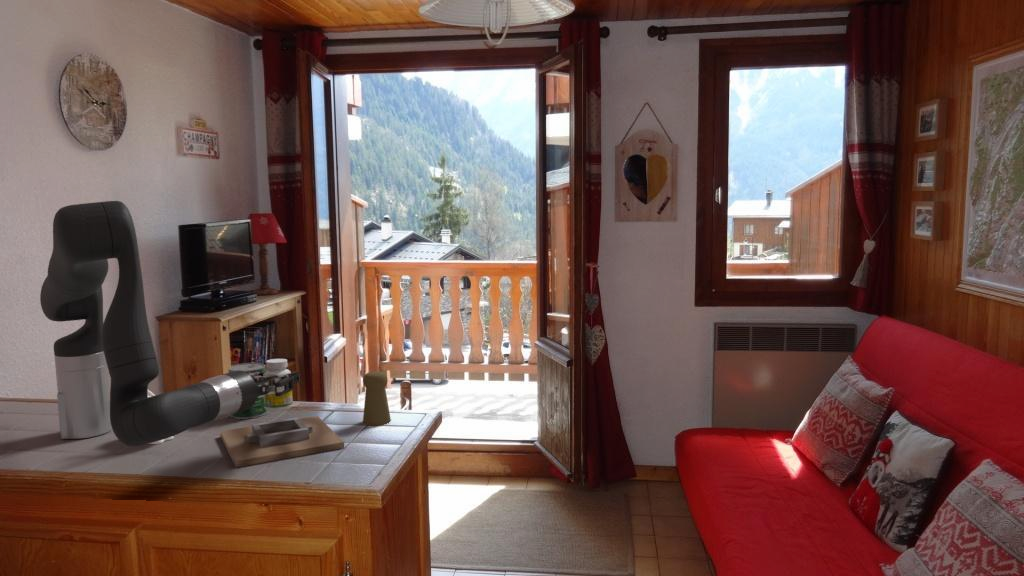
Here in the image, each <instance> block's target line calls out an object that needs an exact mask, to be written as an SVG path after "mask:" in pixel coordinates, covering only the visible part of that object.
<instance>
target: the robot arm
mask: <svg viewBox="0 0 1024 576" xmlns="http://www.w3.org/2000/svg"><path fill="white" fill-rule="evenodd" d="M134 224H135V223H134V220H133V217H132V214H131V212H130V210H129V208H128V207H127V205H126V204H125V203H124V202H122V201H120V200H105V201H97V202H89V203H88V202H86V203H78V204H69V205H65V206H63V207H60V208H59V209H58V210H57V211H56V213H55V214H54V216H53V221H52V242H53V245H52V253H51V255H50V258H49V263H48V267H47V276H46V277H45V279H44V281H43V282H42V285H41V289H40V293H39V295H40V297H39V299H40V300H39V302H40V306H41V310H42V312H43V314H44V316H45V317H46V318H47V319H48V320H50V321H52V322H60V323H61V322H70V321H81V320H82V321H83V320H85V321H84V324H83V325H82V326H80V327H79V328H78V329H77V330H75V331H73V332H72V333H70V334H67V335H65V336H62V337H59V338H58V339H56V340H55V341H54V342H53V355H54V366H55V367H54V368H55V376H56V387H57V393H56V400H57V410H58V419H59V420H58V421H59V422H58V423H59V432H60V439H61V440H67V439H68V440H69V439H73V440H76V439H77V440H79V439H88V438H93V437H97V436H101V435H105V434H107V433H109V432H110V431H112V432H113V433H114V435H115V437H116V438H117V440H118V441H119V442H120V443H122V444H123V445H125V446H127V447H140V446H144V445H149V444H148V443H152V442H156V441H159V440H163V439H166V438H169V437H172V436H176V435H179V434H182V433H183V432H185V431H187V430H190V429H192V428H195V427H199V426H202V425H204V424H207V423H210V422H212V421H219V420H223V419H225V418H227V417H231V415H233V414H236V413H239V412H242V411H244V410H247V409H249V408H251V407H252V406H253V405H254V403H255V401H256V400H257V398H260V397H264V396H265V395H269V394H274V393H275V396H278V397H279V396H282V395H284V394H286V393H288V392H290V391H292V392H293V390H295V385H296V384H298V383H300V381H301V374H300V371H295V370H294V371H292V372H291V373H289V374H285V375H281V376H277V375H274V374H273V375H267V376H263V374H264V373H265V372H266V371H267V370H265V371H264V372H255V373H250V372H244V371H241V370H236V371H232V372H229V371H228V372H226V373H223V374H219V375H216V376H213V377H209V378H206V379H204V380H202V381H200V382H197V383H193V384H191V385H187V386H185V387H181V388H178V389H176V390H172V391H167V392H163V393H160V394H154V395H155V396H152V397H148V390H149V384H150V383H151V382H152V381H154V380H155V379H156V378H157V377H158V376H159V374H160V367H159V363H158V362H159V361H158V359H157V355H156V350H155V347H154V343H153V339H152V334H151V332H150V326H149V321H148V317H147V309H146V308H147V307H146V300H145V291H144V281H143V274H142V267H141V261H140V259H141V258H140V253H139V246H138V236H137V233H136V227H135V225H134ZM109 259H117V262H118V264H117V265H118V280H117V286H116V290H115V293H114V296H113V298H112V301H111V303H110V305H109V308H108V310H107V313H106V315H105V317H104V295H103V284H104V282H105V280H106V278H107V275H108V273H109V267H110V266H109ZM108 374H109V375H108ZM109 377H110V384H109ZM269 379H272V386H271V382H270V380H269ZM280 379H282V380H280ZM279 380H280V381H279ZM109 385H110V386H109ZM109 387H110V388H109Z"/></svg>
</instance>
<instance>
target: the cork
mask: <svg viewBox="0 0 1024 576" xmlns="http://www.w3.org/2000/svg"><path fill="white" fill-rule="evenodd" d="M388 380H389V379H388V375H387V374H386V373H385V372H383V371H369V372H366V373H365V374H364V375H363V378H362V383H363V386H364V387H365V394H364V405H363V407H364V408H363V416H362V424H363V425H365V426H367V425H368V426H367V427H378V426H379V425H381V426H385V425H387V423H388V424H390V423H391V422H392V420H391V413H390V407H389V402H388V401H389V400H388V397H387V390H386V386H387V385H388V382H389V381H388ZM390 421H391V422H390ZM389 422H390V423H389ZM384 424H385V425H384Z"/></svg>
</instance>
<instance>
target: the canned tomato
mask: <svg viewBox="0 0 1024 576" xmlns="http://www.w3.org/2000/svg"><path fill="white" fill-rule="evenodd" d="M227 370H228V373H229V372H232V371H236V370H241V371H244V372H250V373H255V372H264V371H266V364H264V363H260V362H245V363H244V362H243V363H237V364H233V365H230V366H229V367H228V368H227ZM267 414H268V410H266V409H265V406H264V397H260V398H257V400H256V401H255V403H254V405H253V406H252V407H251V408H249V409H247V410H244V411H242V412H239V413H236V414H233V415H231V416H230V417H231V418H232V417H234V418H233V419H235V418H237V420H249V418H251V419H256V418H260V417H263V416H265V415H267Z"/></svg>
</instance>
